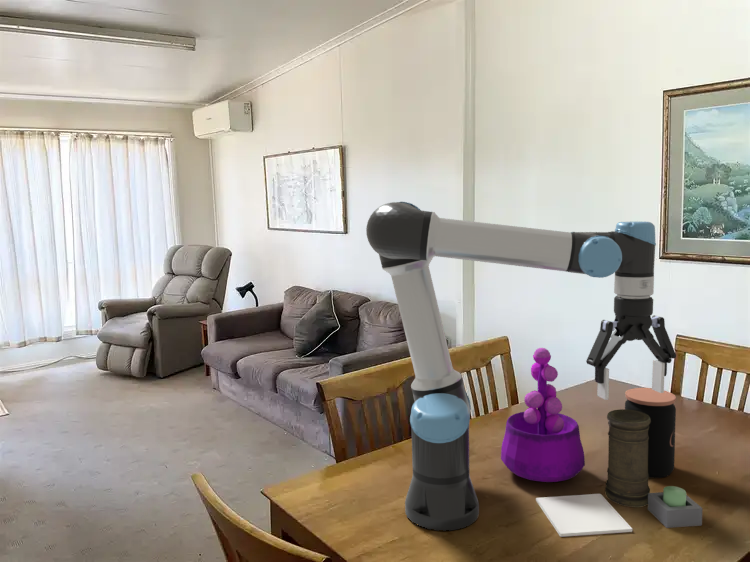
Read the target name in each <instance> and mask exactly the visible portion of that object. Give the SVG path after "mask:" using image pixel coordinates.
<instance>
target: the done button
mask: <svg viewBox="0 0 750 562" xmlns="http://www.w3.org/2000/svg"><path fill="white" fill-rule="evenodd" d="M662 492H663V501H664V502H665V503H666V504H667V505H668V506H669V507H678V506H686V495H687V492H686V490H685V489H684V488H681V487H679V486H674V485H668V486H664V487H663V490H662Z"/></svg>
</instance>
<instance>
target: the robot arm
mask: <svg viewBox="0 0 750 562" xmlns="http://www.w3.org/2000/svg"><path fill="white" fill-rule="evenodd" d="M365 229H366V233H365V234H366V238H367V240H368V241H367V242H368V243H369V245H370V247H371V248H372V250H374V252H375V253H377V254H378V256H379V260H380V264H381V268H382V270H383V271H385V272H386V273H388V274H389V275H390V276H391V280H392V285H393V288H394V293H395V297H396V301H397V306H398V309H399V314H400V318H401V322H402V326H403V331H404V334H405V338H406V342H407V347H408V351H409V355H410V359H411V363H412V367H413V371H414V372H413V373H414V376H415V378H414V379H413V381H412V383H411V385H410V387H411V388H410V389H411V391H412V395H413V396H412V397H413V400H414V402H413V403H412V406H411V411H410V417H409V422H410V427H411V456H412V457H411V460H412V461H411V462H412V465H411V466H412V477H411V480H410V483H409V487H408V490H407V493H406V497H405V501H404V507H405V508H404V509H405V510H404V511H405V515H407V516H406V517H407V519H408V518H409V519H410V520H411V521H412V522H411V521H410V520H409V521H410V522H411V523H413V522H414V523H416V524H418V525H419V526H418V525H417V526H418V527H420V526H422V527H421V528H423V527H425V528H424V529H426V528H427V529H426V530H431V529H434V530H433V531H439V530H443V531H444V532H445V531H446V530H449V531H456V530H460V528H461V529H464V528H466V526H467V527H468V526H471V525H472V524H473V523H475V522H476V521H477V520H478V518H479V515H480V504H479V500H478V497H477V496H478V495H477V493H476V491H475V487H474V485H473V482H472V479H471V473H470V419H471V417H470V416H471V408H472V407H471V401H470V397H469V395H468V392H466V389H465V385H464V380H463V375H462V374H461V372H459V371H458V370H455V369H454V367H453V364H452V360H451V354H450V351H449V346H448V341H447V338H446V334H445V330H444V326H443V321H442V317H441V313H440V309H439V305H438V299H437V295H436V292H435V287H434V283H433V280H432V279H433V278H432V274H431V271H430V264H431V262H432V260H433V258H435V257H438V258H439V257H440V258H446V259H447V258H448V259H455V260H462V261H463V260H465V261H473V262H482V263H490V264H498V265H507V266H515V267H524V268H533V269H541V270H549V271H559V272H566V273H573V274H581V275H586V276H589V277H590V278H602V279H603V278H607V277H609V276H611V275H613V274H614V284H613V285H614V287H613V293H614V294H615V297H613V313H614V316H615V318H614V320H613V321H612V320H611V321H610V320H606V319H602V320H601V322H600V328H599V332H598V334H597V336H596V338H595V341H594V343H593V345H592V348H591V349H590V352H589V354H588V357H587V358H586V360H585V361H586V364H587V365H590V366H592V367H593V368H594V382H596V383H597V391H596V392H597V395H596V396H597V397H598V398H601V399H603V400H605V401H607V400H609V391H610V390H609V387H610V386H609V384H610V369H609V368H607V366H608V365H609V363H610V362H611V361H612V359H613V358H614V356H615V355H616V354H617V352H618V351H619V350H620V349H621V347H622V346H623V345H625V344H626V343H627V341H628V342H632V341H635V340H636V341H643V343H644V344H645V345H646V347H647V348H648V349H649V351H650V352H651V354H652V355H653V356H654V357H655V359H654V360H652V373H651V375H652V377H651V388H652V390H655V391H657V392H659V393H664V391H665V377H667V373H668V372H667V371H668V364H670V363H671V362H672V359H676V358H677V354H676V351H675V348H674V346H673V344H672V342H671V339H670V337H669V334H668V332H667V329H666V324H665V318H664V317H662V316H658V315H653V314H654V298H653V297H652V296H653V295H654V289H655V288H654V287H655V259H656V246H657V243H656V226H655V224H653V223H652V222H650V221H620V222H617V223H616V225H615V229H614V231H613V230H612V231H605V232H604V231H598V232H597V231H589V232H588V231H584V232H583V231H578V232H577V231H571V232H569V231H560V230H559V231H558V230H551V229H542V228H532V227H526V226H525V227H524V226H515V225H507V224H498V223H497V224H496V223H490V222H489V223H488V222H480V221H471V220H462V219H454V218H453V219H452V218H444V217H439V216H438V215H437V214H436V212H435V211H427V210H421V208H419V207H418V206H417V205H415V204H413V203H410V202H406V201H396V202H395V201H393V202H388V203H385V204H382V205H380V206H378V207H377V208H376V209H375V210H374V211H373V212H372V213H371V214H370V215H369V217H368V220H367V222H366V228H365ZM651 327H652V329H653V330H652V331H653V333H654V335H655V336H654V335H653V334H652V332H651V331H650V328H651ZM655 337H656V338H655ZM414 523H413V524H414ZM416 524H415V525H416Z"/></svg>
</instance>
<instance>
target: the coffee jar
mask: <svg viewBox="0 0 750 562" xmlns="http://www.w3.org/2000/svg"><path fill="white" fill-rule="evenodd" d="M624 392H625V394H624V395H625V399H626V400H625V403H624V409H626V410H635V411H639V412H642V413H645V414H647V415H648V416H649V417H650V419H651V422H650V424H649V430H648V436H649V440H648V475H649V478H650V479H662V478H666V477H669V476H670V475H671V474H672V472H673V471H674V470H675V457H676V456H675V454H676V449H675V448H676V447H675V446H676V422H677V421H676V419H677V418H676V415H677V412H676V411H677V409H676V405H675V403H676V401H677V397H676V395H675V394H674V393H672V392H669V391H668V390H664V393H659V392H657V391H655V390H652V387H635V388H630V389H627V390H626V391H624ZM649 478H648V479H649Z"/></svg>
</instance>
